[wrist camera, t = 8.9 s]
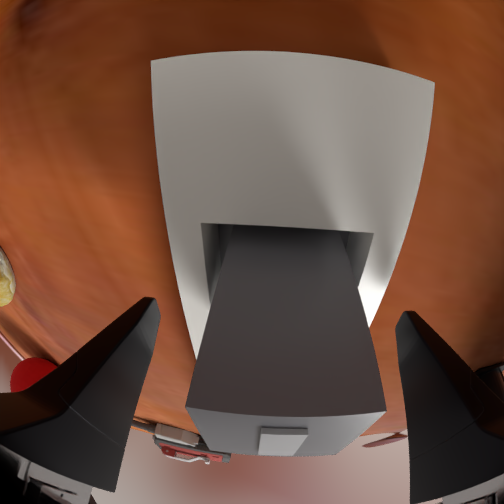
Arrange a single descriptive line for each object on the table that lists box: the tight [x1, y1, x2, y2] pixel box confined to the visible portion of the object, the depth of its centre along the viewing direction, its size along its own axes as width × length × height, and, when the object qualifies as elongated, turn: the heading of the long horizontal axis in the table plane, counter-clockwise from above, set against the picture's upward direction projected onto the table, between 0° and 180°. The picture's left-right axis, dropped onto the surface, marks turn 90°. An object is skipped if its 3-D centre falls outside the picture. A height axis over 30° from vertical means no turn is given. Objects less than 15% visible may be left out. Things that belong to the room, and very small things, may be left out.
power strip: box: [151, 51, 435, 360], centre depth 14 cm, size 8×26×4 cm, turn 179°
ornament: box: [10, 357, 57, 392], centre depth 22 cm, size 9×9×10 cm
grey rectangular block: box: [185, 224, 387, 456], centre depth 9 cm, size 4×4×8 cm
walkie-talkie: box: [131, 420, 231, 464], centre depth 32 cm, size 9×4×20 cm
